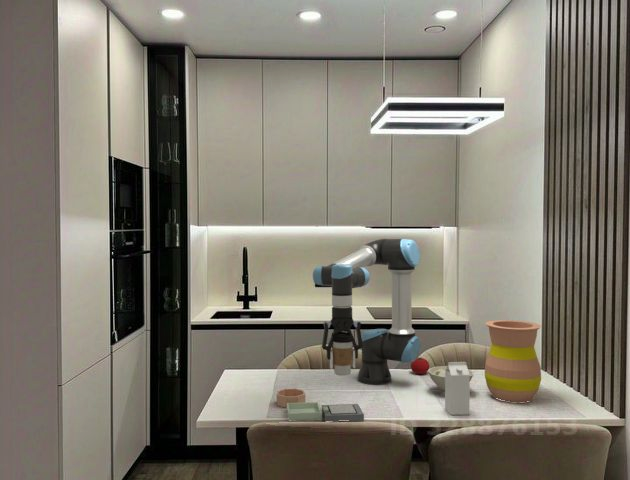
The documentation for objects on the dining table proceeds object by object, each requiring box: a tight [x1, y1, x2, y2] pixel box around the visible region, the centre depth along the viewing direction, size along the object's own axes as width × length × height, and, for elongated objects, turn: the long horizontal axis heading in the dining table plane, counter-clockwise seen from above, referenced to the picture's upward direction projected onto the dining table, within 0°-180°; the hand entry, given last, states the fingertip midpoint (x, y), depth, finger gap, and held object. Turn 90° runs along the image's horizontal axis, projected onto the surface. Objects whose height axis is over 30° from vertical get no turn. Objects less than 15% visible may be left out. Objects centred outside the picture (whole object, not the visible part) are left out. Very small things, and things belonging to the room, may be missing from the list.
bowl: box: [427, 365, 474, 395], centre depth 235 cm, size 19×19×10 cm
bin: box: [276, 388, 306, 409], centre depth 221 cm, size 11×11×4 cm
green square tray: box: [286, 401, 323, 421], centre depth 208 cm, size 12×12×3 cm
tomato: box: [410, 357, 430, 375], centre depth 266 cm, size 9×9×8 cm
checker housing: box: [321, 403, 365, 422], centre depth 206 cm, size 14×12×3 cm
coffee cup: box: [331, 331, 355, 377], centre depth 206 cm, size 8×8×15 cm
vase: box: [484, 319, 542, 403], centre depth 229 cm, size 22×22×30 cm
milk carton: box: [444, 361, 471, 416], centre depth 211 cm, size 7×7×19 cm
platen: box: [329, 404, 356, 415], centre depth 206 cm, size 9×9×1 cm
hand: (342, 367), depth 206 cm, fingers closed on coffee cup, 8 cm apart
